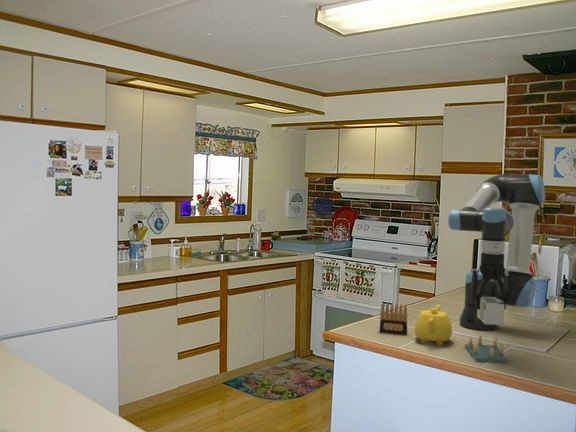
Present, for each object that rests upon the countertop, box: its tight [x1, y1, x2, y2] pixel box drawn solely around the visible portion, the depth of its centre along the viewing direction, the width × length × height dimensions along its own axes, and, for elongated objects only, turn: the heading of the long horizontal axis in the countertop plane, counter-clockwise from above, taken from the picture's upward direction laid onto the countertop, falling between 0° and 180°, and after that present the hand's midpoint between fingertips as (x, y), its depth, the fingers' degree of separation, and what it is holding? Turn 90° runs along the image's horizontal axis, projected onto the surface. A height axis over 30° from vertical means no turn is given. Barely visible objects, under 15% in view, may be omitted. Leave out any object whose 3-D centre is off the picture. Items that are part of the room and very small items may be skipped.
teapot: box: [414, 303, 453, 346], centre depth 203 cm, size 13×20×12 cm
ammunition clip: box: [379, 301, 408, 336], centre depth 212 cm, size 11×2×12 cm, turn 74°
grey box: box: [477, 297, 505, 326], centre depth 186 cm, size 11×6×7 cm, turn 174°
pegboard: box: [464, 334, 509, 364], centre depth 187 cm, size 15×10×5 cm
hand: (489, 318), depth 187 cm, fingers closed on grey box, 6 cm apart
